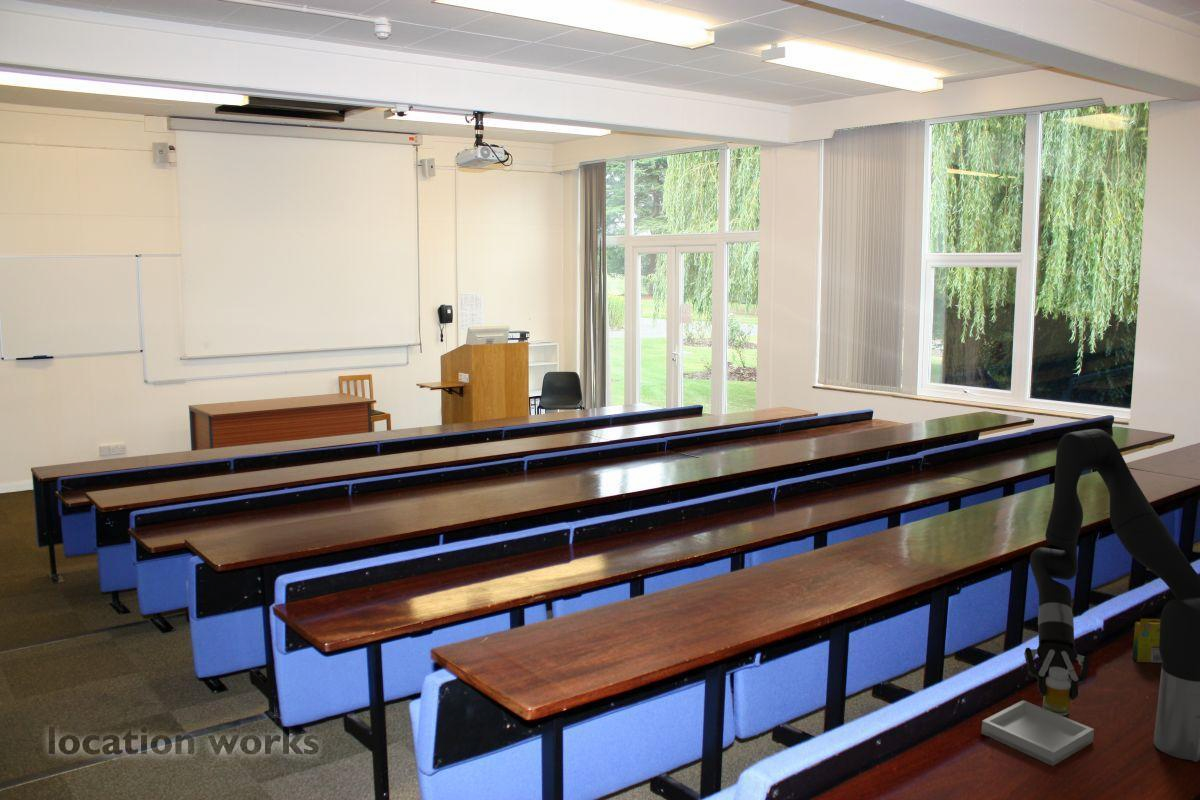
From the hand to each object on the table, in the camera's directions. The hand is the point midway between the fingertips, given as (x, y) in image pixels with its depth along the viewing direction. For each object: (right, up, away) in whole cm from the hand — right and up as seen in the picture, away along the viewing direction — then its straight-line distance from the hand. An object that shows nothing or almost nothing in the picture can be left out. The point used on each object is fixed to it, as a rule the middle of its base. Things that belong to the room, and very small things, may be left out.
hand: (1058, 696), depth 213 cm
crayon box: (+37, 0, +28) cm, 47 cm away
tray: (-9, -6, -10) cm, 14 cm away
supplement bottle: (+1, -4, +2) cm, 5 cm away
